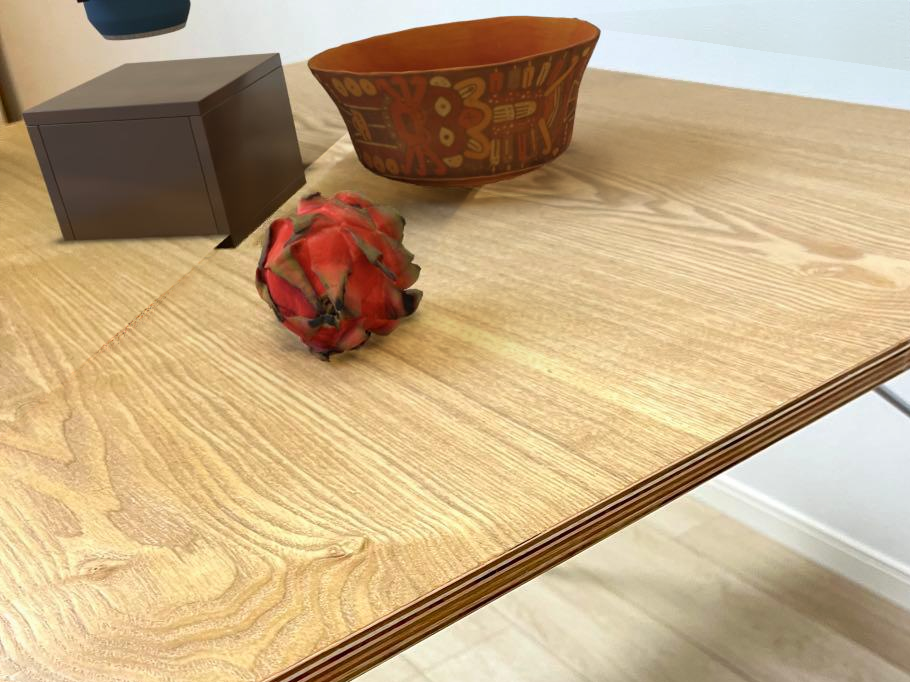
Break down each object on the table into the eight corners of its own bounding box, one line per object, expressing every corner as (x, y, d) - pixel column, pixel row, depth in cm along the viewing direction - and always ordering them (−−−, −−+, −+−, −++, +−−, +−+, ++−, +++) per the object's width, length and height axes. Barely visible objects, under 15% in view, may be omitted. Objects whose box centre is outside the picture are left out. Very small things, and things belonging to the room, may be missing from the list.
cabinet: (160, 189, 94) (124, 63, 88) (307, 183, 91) (279, 52, 86) (68, 254, 82) (20, 112, 76) (234, 248, 79) (197, 101, 74)
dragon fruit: (378, 316, 70) (367, 432, 61) (246, 254, 67) (214, 367, 58) (443, 202, 66) (441, 310, 57) (305, 130, 62) (279, 232, 53)
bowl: (383, 145, 99) (362, 20, 93) (627, 133, 94) (619, 1, 89) (292, 226, 82) (260, 80, 76) (583, 217, 77) (571, 61, 72)
